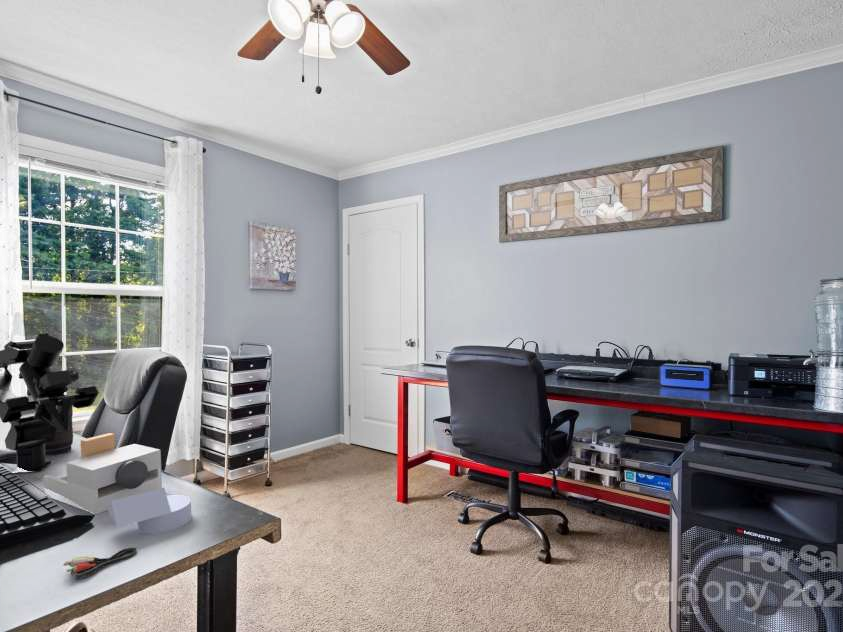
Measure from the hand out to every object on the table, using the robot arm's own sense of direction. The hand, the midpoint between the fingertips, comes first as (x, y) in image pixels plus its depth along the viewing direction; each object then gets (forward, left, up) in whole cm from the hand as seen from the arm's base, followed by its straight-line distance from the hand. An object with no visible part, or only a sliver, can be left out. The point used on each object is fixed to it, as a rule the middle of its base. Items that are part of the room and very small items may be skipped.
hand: (66, 430), depth 112 cm
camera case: (+11, +11, -12) cm, 20 cm away
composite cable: (+44, +21, -13) cm, 51 cm away
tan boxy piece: (+12, +12, -9) cm, 19 cm away
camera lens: (-27, -13, -12) cm, 32 cm away
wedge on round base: (+31, +25, -12) cm, 42 cm away
